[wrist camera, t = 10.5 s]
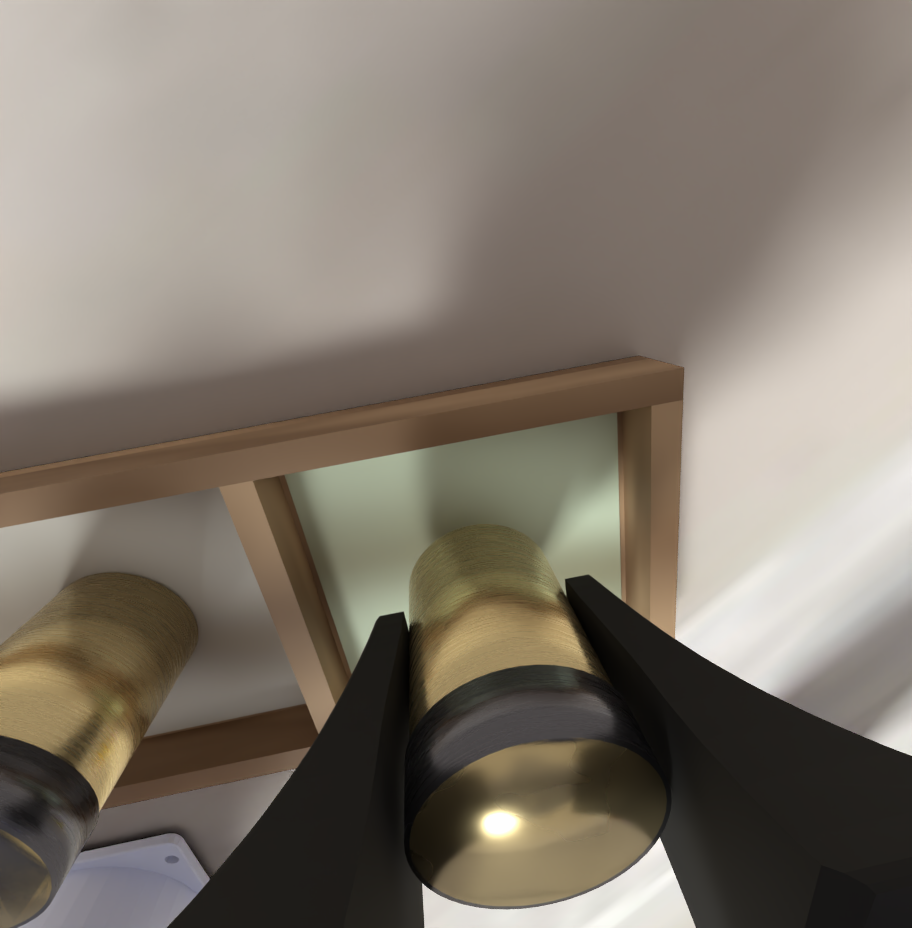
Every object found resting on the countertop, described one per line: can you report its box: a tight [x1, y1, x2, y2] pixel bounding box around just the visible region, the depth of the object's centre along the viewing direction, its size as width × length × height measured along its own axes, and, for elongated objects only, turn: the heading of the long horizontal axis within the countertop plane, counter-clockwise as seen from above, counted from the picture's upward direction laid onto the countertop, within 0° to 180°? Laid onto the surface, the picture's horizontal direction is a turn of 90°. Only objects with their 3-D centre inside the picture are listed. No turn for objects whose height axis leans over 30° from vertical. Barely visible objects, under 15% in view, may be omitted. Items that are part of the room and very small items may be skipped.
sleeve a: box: [0, 573, 198, 928], centre depth 10 cm, size 4×4×6 cm
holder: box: [0, 356, 684, 810], centre depth 13 cm, size 11×22×2 cm, turn 99°
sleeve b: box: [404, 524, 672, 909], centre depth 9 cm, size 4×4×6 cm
